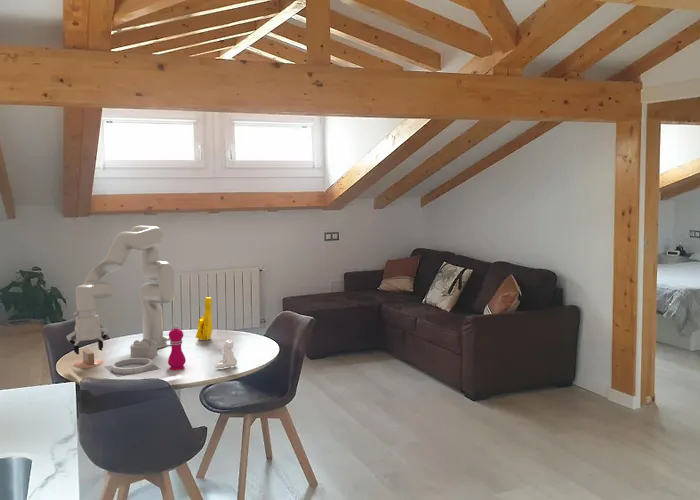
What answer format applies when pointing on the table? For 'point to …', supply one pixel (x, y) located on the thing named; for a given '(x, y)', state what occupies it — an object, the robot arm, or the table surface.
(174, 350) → the pepper mill
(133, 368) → the base plate
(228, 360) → the seated beast figurine
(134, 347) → the lumpy-topped squat cylinder
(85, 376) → the table surface
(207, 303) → the figure statuette
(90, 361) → the cover
